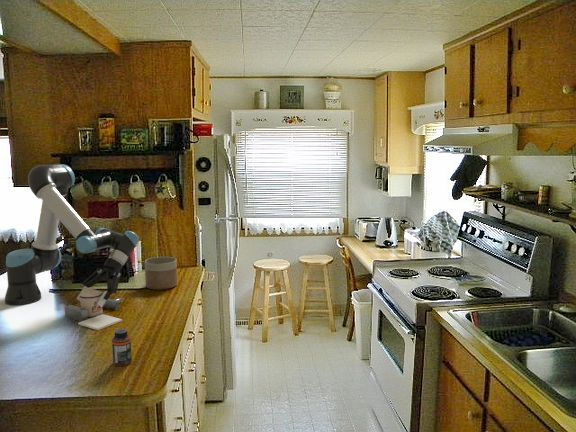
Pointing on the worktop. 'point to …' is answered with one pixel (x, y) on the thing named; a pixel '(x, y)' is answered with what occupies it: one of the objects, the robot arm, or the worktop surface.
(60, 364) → the worktop surface
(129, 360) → the supplement bottle
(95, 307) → the teacup with lid
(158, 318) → the worktop surface
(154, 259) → the planter
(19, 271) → the robot arm
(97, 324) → the tile
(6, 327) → the worktop surface
